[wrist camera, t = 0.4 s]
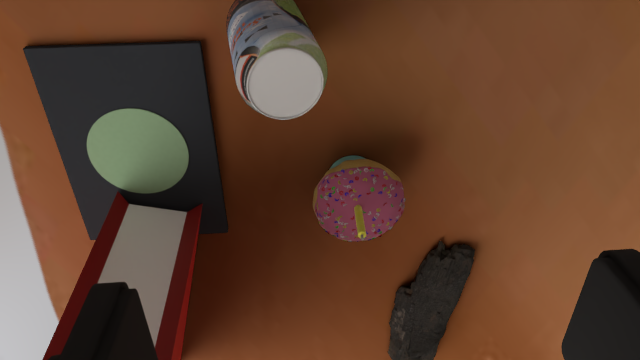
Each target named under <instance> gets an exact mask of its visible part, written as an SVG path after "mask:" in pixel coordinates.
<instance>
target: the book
mask: <svg viewBox="0 0 640 360" xmlns="http://www.w3.org/2000/svg"><path fill="white" fill-rule="evenodd" d="M202 204H203V203H202ZM202 204H200V205H199V206H197V207H195V208H193V209H192V210H190V211H188V212H183V211H175V210H168V209H161V208H154V207H147V206H139V205H132V204H129V203H128V202H127V201H126V200H125V199H124V198H123V196H122V195H121V194H120V193H119V192H117V194H116V197H115V199H114V201H113V203H112V205H111V208H110V210H109V212H108V214H107V217H106V219H105V221H104V223H103V226H102V228H101V230H100V232H99V235H98V237H97V239H96V241H95V243H94V246H93V248H92V250H91V252H90V255H89V257H88V259H87V261H86V264H85V266H84V268H83V270H82V273H81V275H80V277H79V279H78V281H77V284H76V286H75V288H74V290H73V293H72V295H71V297H70V299H69V302H68V304H67V306H66V308H65V311H64V313H63V315H62V317H61V320H60V322H59V324H58V326H57V328H56V331H55V333H54V335H53V337H52V340H51V342H50V344H49V346H48V349H47V351H46V353H45V355H44V358H43V360H48V359H49V358H50V357H51V356H54V355H59V354H61V353H62V350H63V348H64V346H65V344H66V342H67V339H68V337H69V335H70V333H71V330H72V328H73V326H74V324H75V322H76V319H77V317H78V315H79V313H80V310H81V308H82V306H83V304H84V302H85V299H86V297H87V295H88V293H89V290H90V289H91V287H92V285H94V284H96V283H112V282H126V283H127V285H128V287H129V289H133V288H135V289H136V290H137V291H138V294H139V297H140V301H141V304H142V307H143V310H144V314H145V317H146V320H147V324H148V327H149V330H150V334H151V337H152V340H153V344H154V347H155V350H156V354H157V357H158V360H181V355H182V347H183V340H184V333H185V326H186V319H187V312H188V304H189V297H190V290H191V283H192V276H193V269H194V261H195V254H196V247H197V240H198V233H199V225H200V218H201V211H202Z"/></svg>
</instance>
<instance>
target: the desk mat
mask: <svg viewBox="0 0 640 360" xmlns="http://www.w3.org/2000/svg"><path fill="white" fill-rule="evenodd" d="M23 50H24V53H25V56H26V59H27V61H28V64H29V67H30V70H31V73H32V76H33V78H34V81H35V84H36V87H37V90H38V93H39V95H40V98H41V101H42V104H43V107H44V110H45V112H46V115H47V118H48V121H49V124H50V127H51V130H52V132H53V135H54V138H55V141H56V144H57V147H58V149H59V152H60V155H61V158H62V161H63V164H64V166H65V169H66V172H67V175H68V178H69V181H70V183H71V186H72V189H73V192H74V195H75V198H76V200H77V203H78V206H79V209H80V212H81V215H82V217H83V220H84V223H85V226H86V229H87V232H88V234H89V237H90V240H96V239H97V237H98V235H99V232H100V230H101V228H102V226H103V223H104V221H105V219H106V217H107V214H108V212H109V210H110V208H111V205H112V203H113V201H114V199H115V197H116V194H117V192H119V193H120V194H121V195H122V196H123V198H124V199H125V200H126V201H127V202H128V203H129V204H132V205H139V206H147V207H154V208H161V209H168V210H175V211H183V212H188V211H190V210H192V209H193V208H195V207H197V206H199V205H200V204H202V203H203V204H202V211H201V218H200V225H199V233H198V234H210V233H228V224H227V217H226V210H225V203H224V196H223V189H222V183H221V176H220V169H219V162H218V155H217V148H216V141H215V135H214V128H213V121H212V114H211V107H210V100H209V94H208V87H207V80H206V73H205V66H204V59H203V52H202V46H201V41H178V42H147V43H116V44H85V45H54V46H26V47H25V48H23Z"/></svg>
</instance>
